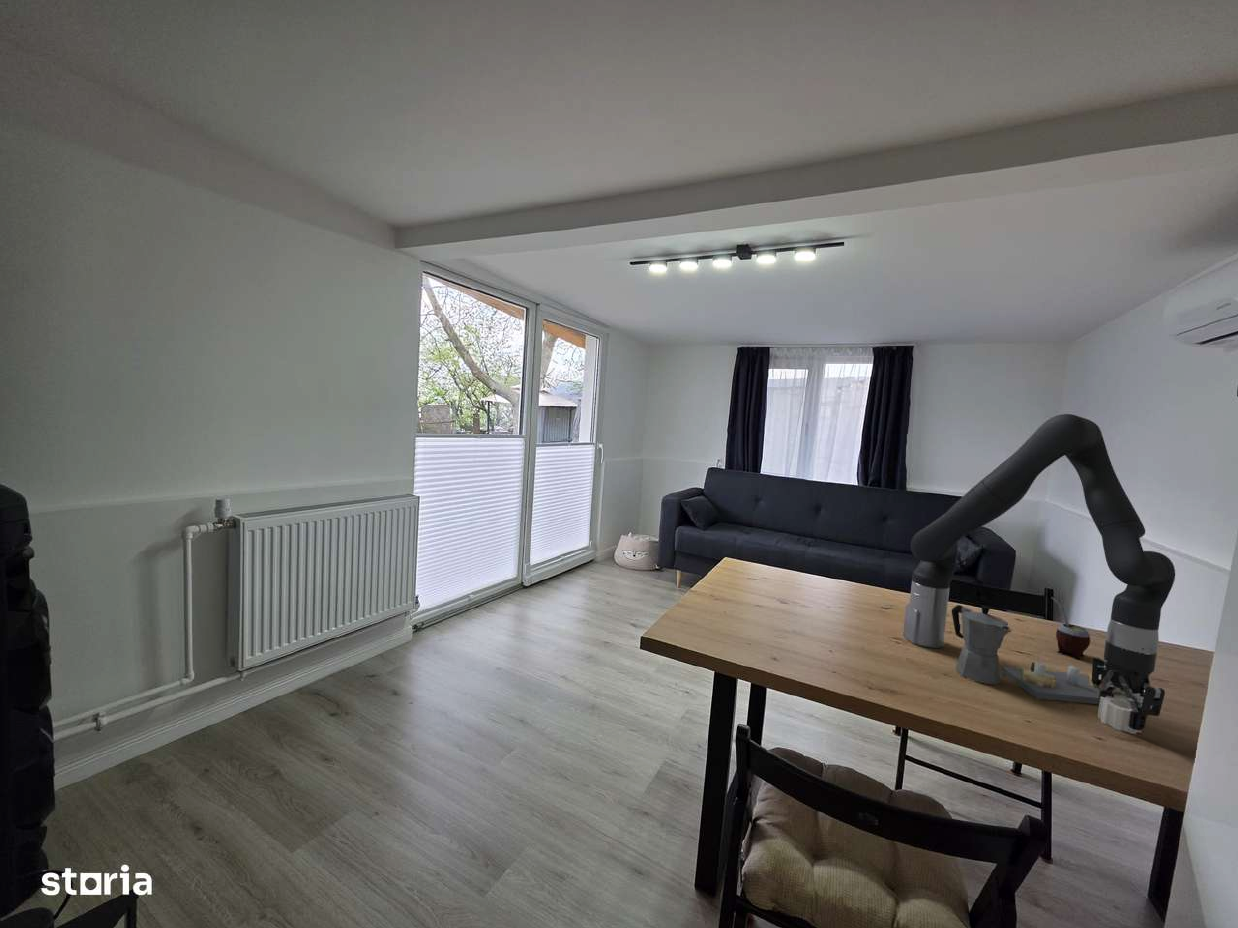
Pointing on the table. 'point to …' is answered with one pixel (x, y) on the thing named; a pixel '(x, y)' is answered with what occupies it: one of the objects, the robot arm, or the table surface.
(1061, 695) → the gear board
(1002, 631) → the coffeepot
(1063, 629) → the mate gourd
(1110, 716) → the ivory gear
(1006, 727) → the table surface
